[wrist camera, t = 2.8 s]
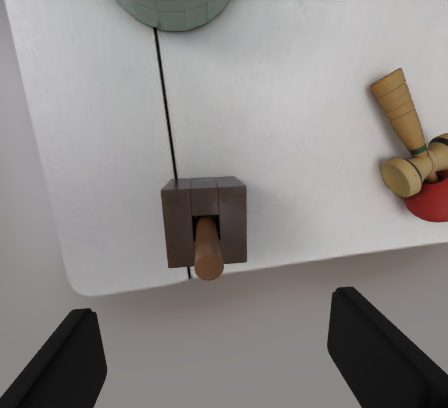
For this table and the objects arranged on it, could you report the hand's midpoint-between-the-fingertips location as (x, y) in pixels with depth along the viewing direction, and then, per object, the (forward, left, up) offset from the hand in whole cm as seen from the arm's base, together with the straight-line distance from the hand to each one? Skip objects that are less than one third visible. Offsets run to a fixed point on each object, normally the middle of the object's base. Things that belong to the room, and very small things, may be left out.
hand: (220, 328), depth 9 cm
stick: (0, 0, -19) cm, 19 cm away
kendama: (+24, +6, -19) cm, 31 cm away
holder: (0, 0, -19) cm, 19 cm away
